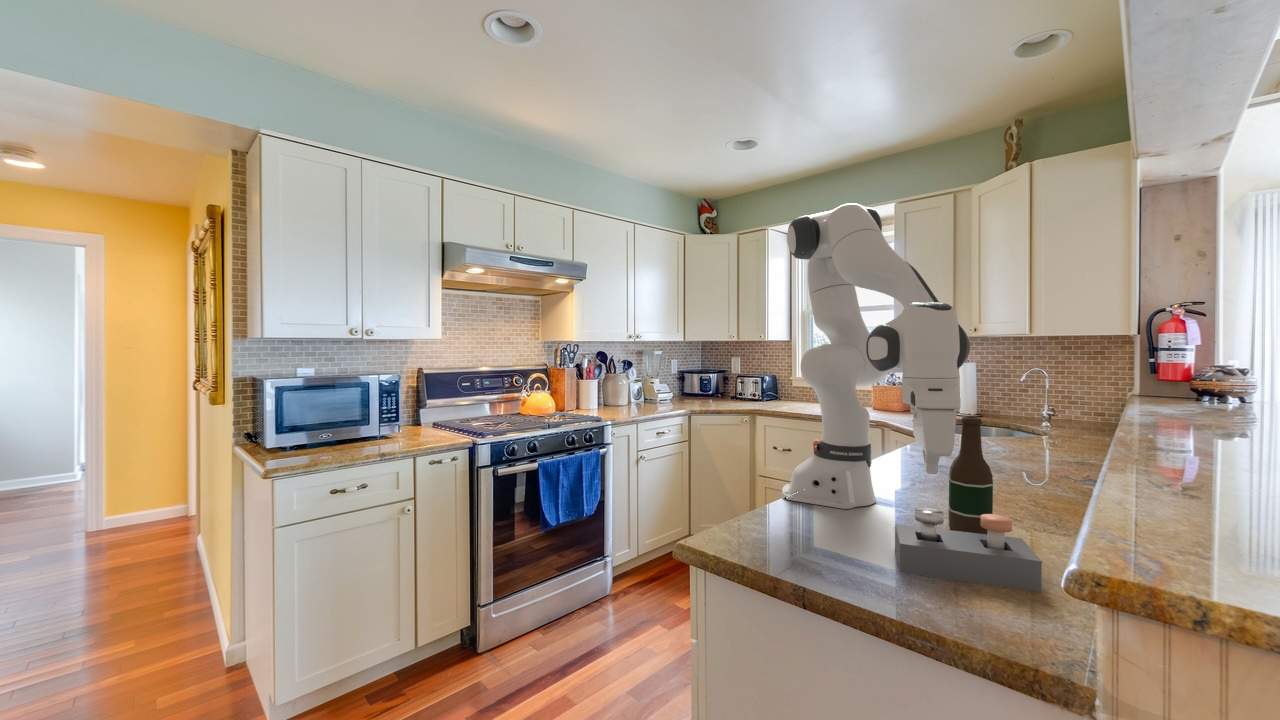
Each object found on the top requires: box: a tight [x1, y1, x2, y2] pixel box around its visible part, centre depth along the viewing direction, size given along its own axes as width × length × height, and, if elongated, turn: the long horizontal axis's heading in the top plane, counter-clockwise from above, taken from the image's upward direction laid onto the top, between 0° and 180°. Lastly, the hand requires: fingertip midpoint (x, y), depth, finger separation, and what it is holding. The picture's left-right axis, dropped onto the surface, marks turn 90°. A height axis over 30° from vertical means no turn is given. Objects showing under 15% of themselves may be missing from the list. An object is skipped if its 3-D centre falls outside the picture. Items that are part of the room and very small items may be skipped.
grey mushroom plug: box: [914, 506, 945, 542], centre depth 91 cm, size 4×4×6 cm
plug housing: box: [894, 523, 1043, 593], centre depth 90 cm, size 20×10×5 cm, turn 68°
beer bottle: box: [948, 415, 994, 534], centre depth 106 cm, size 8×8×24 cm
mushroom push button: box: [981, 513, 1013, 550], centre depth 88 cm, size 4×4×6 cm
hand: (930, 472), depth 91 cm, fingers closed
